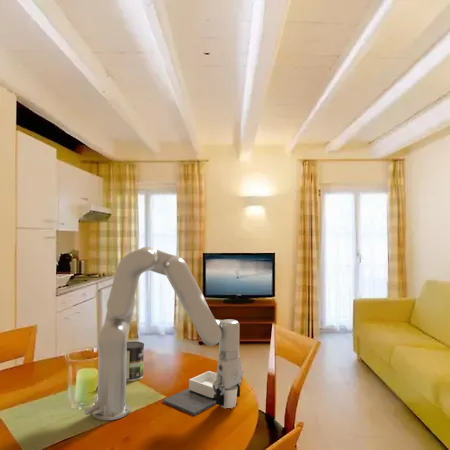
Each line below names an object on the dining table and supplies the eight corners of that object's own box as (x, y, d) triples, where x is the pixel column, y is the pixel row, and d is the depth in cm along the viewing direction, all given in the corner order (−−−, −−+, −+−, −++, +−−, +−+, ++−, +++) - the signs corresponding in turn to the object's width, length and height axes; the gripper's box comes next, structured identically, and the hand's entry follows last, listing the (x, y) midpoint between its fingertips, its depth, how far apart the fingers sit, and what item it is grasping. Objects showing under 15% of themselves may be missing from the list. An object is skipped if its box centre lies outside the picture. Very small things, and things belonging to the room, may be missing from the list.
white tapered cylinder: (215, 406, 138) (215, 387, 138) (224, 399, 144) (224, 381, 144) (232, 411, 135) (232, 391, 135) (240, 403, 141) (240, 384, 141)
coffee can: (145, 372, 170) (146, 341, 171) (140, 381, 160) (140, 348, 160) (123, 372, 170) (123, 340, 171) (116, 381, 160) (116, 347, 160)
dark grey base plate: (194, 415, 131) (194, 405, 131) (163, 402, 141) (163, 392, 141) (238, 391, 152) (238, 383, 152) (208, 381, 161) (208, 373, 162)
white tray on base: (213, 399, 141) (214, 388, 141) (187, 389, 150) (187, 379, 150) (233, 389, 151) (233, 378, 151) (207, 380, 159) (207, 370, 159)
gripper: (222, 362, 131) (221, 411, 131) (250, 350, 145) (249, 395, 144) (206, 357, 136) (205, 405, 135) (234, 346, 149) (234, 390, 149)
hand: (228, 400), depth 140 cm, fingers open, 9 cm apart
